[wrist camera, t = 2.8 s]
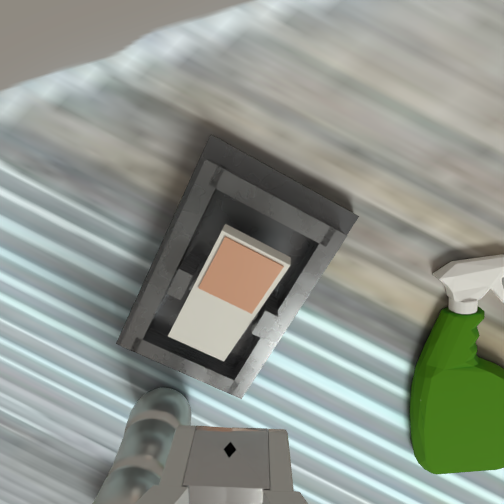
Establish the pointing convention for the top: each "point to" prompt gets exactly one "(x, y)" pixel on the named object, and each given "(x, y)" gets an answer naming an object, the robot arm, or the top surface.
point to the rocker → (228, 293)
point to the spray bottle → (459, 378)
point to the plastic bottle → (144, 446)
